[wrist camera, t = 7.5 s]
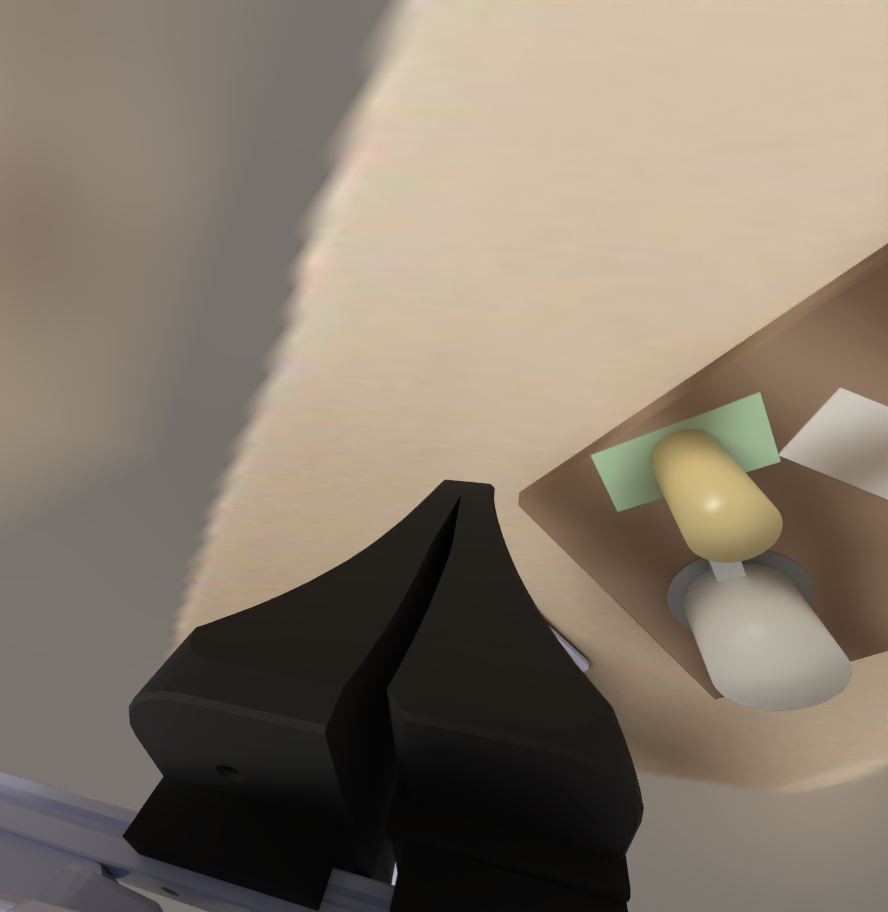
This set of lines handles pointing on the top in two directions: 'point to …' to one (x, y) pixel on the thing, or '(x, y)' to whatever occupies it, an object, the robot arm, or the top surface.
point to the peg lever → (743, 583)
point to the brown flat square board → (753, 472)
